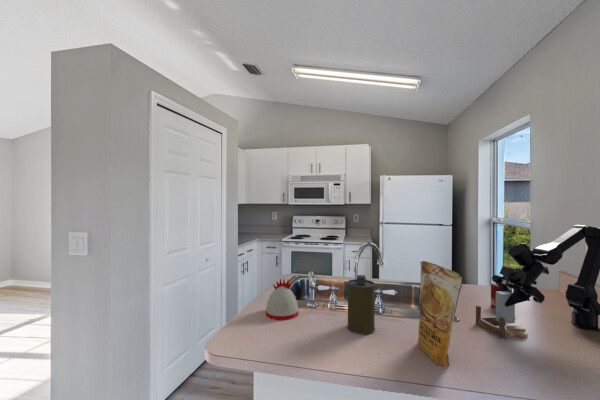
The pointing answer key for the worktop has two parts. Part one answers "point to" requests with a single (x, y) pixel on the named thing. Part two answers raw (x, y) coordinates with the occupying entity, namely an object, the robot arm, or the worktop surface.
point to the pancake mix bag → (437, 310)
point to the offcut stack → (515, 332)
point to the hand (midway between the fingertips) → (501, 304)
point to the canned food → (494, 293)
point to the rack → (488, 321)
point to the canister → (361, 306)
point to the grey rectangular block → (504, 307)
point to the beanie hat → (282, 302)
